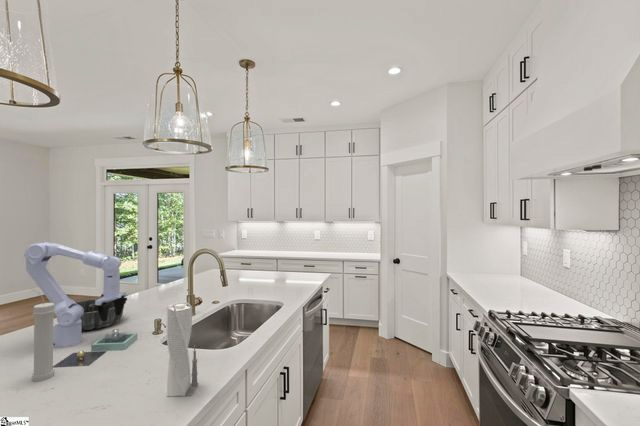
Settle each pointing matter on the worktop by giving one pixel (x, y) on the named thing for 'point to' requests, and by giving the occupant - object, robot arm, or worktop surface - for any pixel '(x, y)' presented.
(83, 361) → the square lid with knob
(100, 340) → the bin
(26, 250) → the robot arm
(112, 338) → the grey block
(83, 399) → the worktop surface
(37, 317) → the pipe
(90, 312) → the bundt pan
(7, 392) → the worktop surface
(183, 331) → the skyscraper
